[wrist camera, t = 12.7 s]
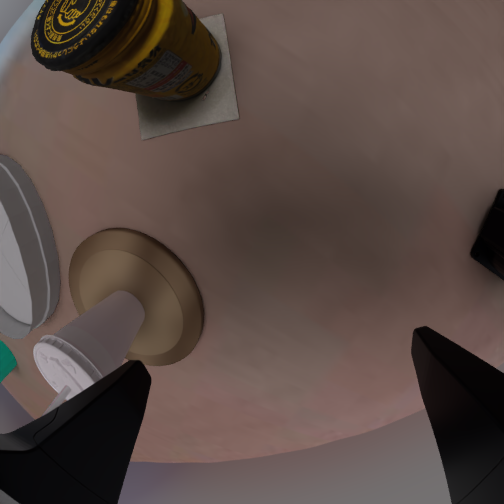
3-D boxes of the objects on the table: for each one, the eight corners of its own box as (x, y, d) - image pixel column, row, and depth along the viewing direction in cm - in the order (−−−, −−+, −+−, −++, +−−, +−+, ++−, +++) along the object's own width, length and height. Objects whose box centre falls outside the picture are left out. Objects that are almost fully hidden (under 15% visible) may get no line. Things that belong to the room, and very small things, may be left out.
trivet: (225, 268, 22) (222, 275, 21) (184, 378, 27) (181, 385, 26) (80, 205, 22) (72, 208, 21) (74, 321, 27) (69, 326, 26)
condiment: (223, 14, 15) (152, -82, 4) (239, 119, 18) (162, 91, 7) (132, 42, 16) (18, 0, 5) (143, 140, 19) (14, 157, 8)
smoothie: (110, 334, 25) (31, 436, 12) (90, 275, 23) (-18, 371, 10) (166, 340, 24) (93, 469, 11) (148, 276, 22) (36, 403, 9)
